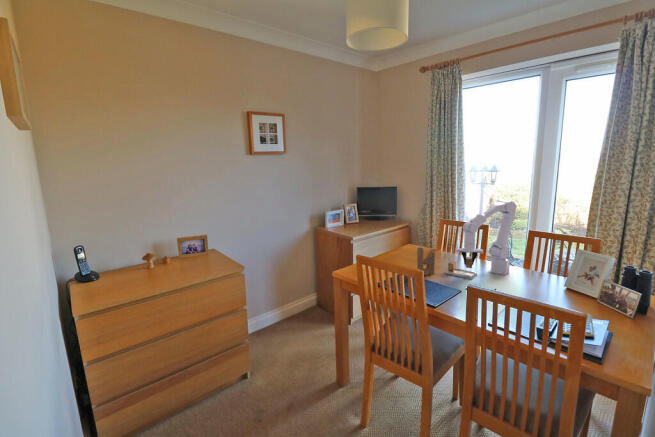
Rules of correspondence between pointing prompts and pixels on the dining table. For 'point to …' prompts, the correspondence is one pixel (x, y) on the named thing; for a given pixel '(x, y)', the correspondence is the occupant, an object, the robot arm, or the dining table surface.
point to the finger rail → (460, 271)
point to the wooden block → (425, 261)
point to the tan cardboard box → (468, 262)
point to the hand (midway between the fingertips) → (468, 264)
